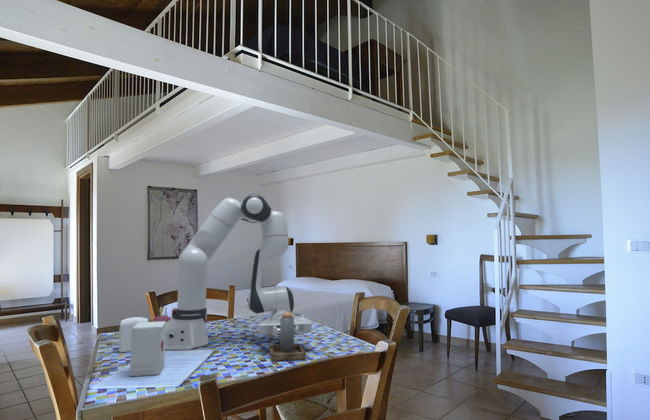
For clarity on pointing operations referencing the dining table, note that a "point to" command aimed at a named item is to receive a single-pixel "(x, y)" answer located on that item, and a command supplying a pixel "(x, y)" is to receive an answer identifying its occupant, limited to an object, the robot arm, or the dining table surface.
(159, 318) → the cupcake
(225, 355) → the dining table surface
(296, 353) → the tray
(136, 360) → the supplement box
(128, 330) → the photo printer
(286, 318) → the canister
